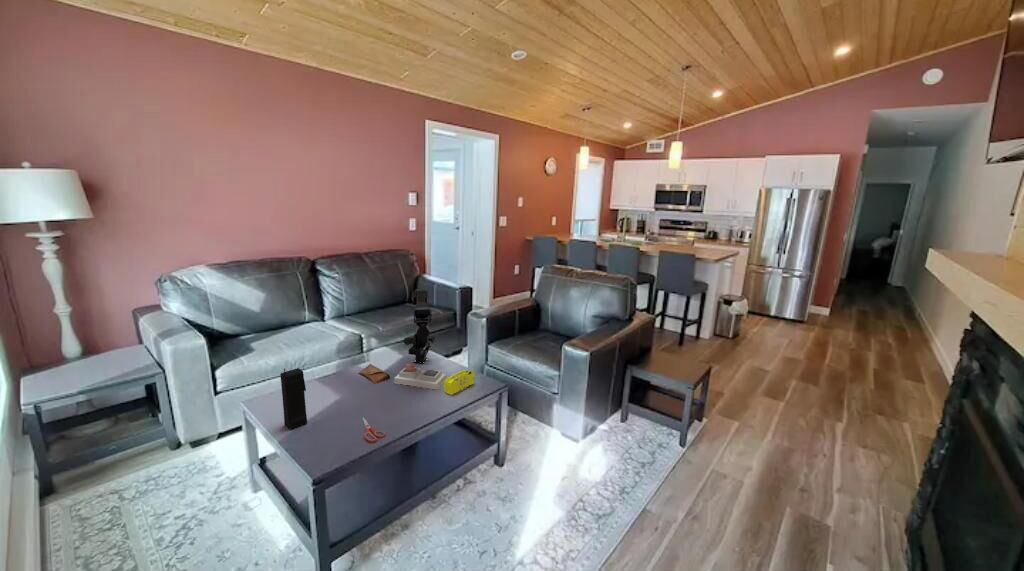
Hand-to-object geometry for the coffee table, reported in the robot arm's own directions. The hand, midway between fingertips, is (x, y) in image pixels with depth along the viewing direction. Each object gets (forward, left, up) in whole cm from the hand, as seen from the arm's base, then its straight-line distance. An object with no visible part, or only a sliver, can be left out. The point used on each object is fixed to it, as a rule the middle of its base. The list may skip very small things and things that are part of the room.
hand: (422, 361), depth 204 cm
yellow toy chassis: (+1, +20, -11) cm, 23 cm away
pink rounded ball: (0, -6, -6) cm, 8 cm away
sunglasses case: (+2, -26, -11) cm, 28 cm away
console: (0, -1, -11) cm, 11 cm away
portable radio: (+49, -31, -11) cm, 59 cm away
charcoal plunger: (0, +5, -7) cm, 9 cm away
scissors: (+44, -3, -11) cm, 46 cm away
